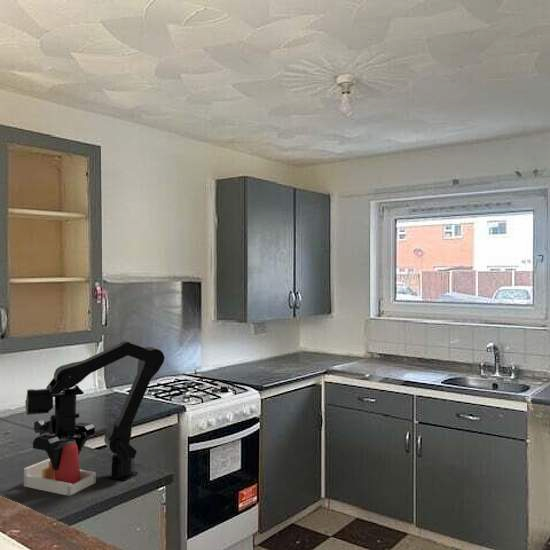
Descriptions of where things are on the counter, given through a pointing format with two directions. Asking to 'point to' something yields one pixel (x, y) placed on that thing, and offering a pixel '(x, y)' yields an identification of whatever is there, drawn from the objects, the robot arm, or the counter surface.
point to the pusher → (49, 472)
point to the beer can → (68, 463)
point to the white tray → (36, 481)
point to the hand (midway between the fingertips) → (64, 466)
